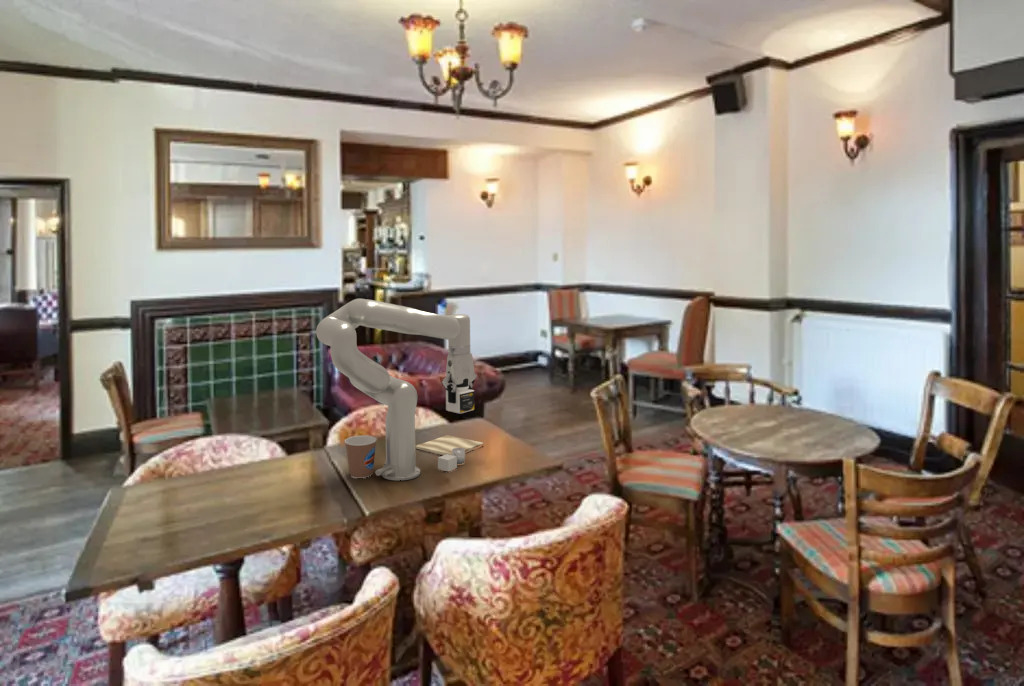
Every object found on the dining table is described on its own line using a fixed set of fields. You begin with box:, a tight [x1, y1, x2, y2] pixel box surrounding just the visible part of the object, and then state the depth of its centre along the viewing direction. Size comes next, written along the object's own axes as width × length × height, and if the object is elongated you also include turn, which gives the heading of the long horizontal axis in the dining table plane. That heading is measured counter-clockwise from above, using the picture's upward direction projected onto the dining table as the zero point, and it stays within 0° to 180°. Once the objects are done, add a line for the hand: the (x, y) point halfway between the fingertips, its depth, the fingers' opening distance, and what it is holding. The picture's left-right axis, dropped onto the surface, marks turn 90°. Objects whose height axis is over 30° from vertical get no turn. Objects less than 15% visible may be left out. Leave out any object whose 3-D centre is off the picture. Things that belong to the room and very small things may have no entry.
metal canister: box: [452, 448, 466, 464], centre depth 222 cm, size 4×4×5 cm
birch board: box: [415, 434, 485, 455], centre depth 240 cm, size 18×18×2 cm
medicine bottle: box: [445, 378, 475, 414], centre depth 221 cm, size 7×7×12 cm
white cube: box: [437, 454, 458, 472], centre depth 216 cm, size 4×4×4 cm
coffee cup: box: [344, 435, 378, 479], centre depth 209 cm, size 10×10×12 cm
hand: (460, 400), depth 222 cm, fingers closed on medicine bottle, 7 cm apart
